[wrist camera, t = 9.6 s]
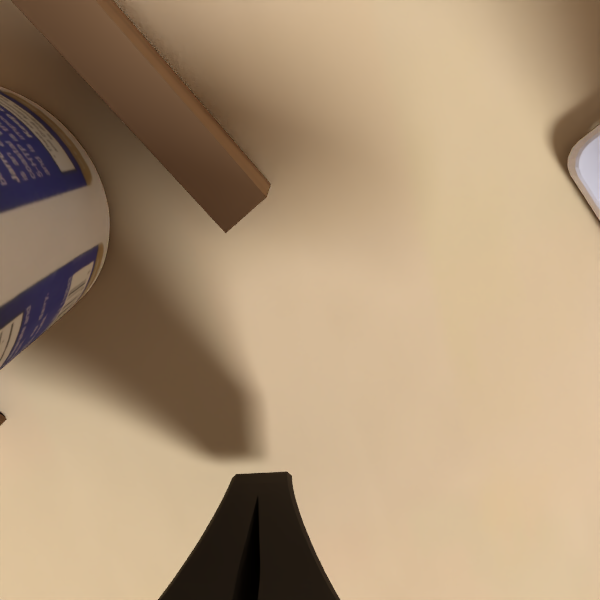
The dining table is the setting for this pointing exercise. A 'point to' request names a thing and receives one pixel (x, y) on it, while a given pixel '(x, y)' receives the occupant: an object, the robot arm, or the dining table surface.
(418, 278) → the dining table surface
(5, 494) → the dining table surface
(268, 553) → the robot arm
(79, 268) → the pill bottle
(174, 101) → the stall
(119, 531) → the dining table surface
